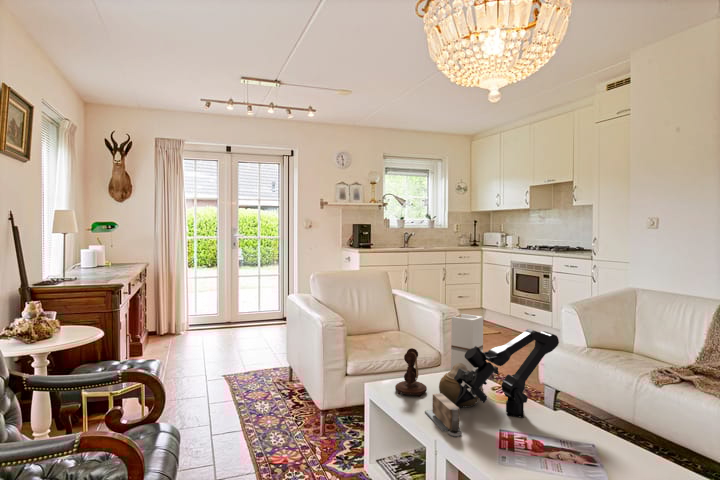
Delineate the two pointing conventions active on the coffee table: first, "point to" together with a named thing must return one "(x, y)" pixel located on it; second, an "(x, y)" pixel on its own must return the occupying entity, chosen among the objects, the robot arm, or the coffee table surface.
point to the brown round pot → (454, 386)
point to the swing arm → (446, 411)
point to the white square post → (465, 338)
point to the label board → (437, 420)
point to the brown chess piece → (411, 376)
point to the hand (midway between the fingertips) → (456, 403)
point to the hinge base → (454, 433)
